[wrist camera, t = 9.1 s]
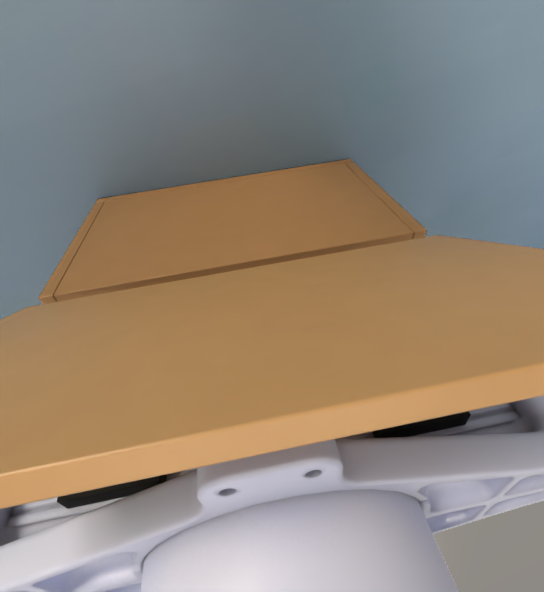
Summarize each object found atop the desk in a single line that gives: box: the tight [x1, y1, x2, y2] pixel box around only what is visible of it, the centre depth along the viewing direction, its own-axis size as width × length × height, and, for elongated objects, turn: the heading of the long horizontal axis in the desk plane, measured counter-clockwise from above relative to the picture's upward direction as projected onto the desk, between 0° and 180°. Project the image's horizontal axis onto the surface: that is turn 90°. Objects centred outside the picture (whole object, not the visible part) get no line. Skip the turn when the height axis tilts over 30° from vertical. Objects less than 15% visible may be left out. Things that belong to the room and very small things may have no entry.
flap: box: [0, 235, 544, 509], centre depth 5 cm, size 6×11×1 cm
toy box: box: [39, 159, 427, 304], centre depth 15 cm, size 13×11×7 cm
